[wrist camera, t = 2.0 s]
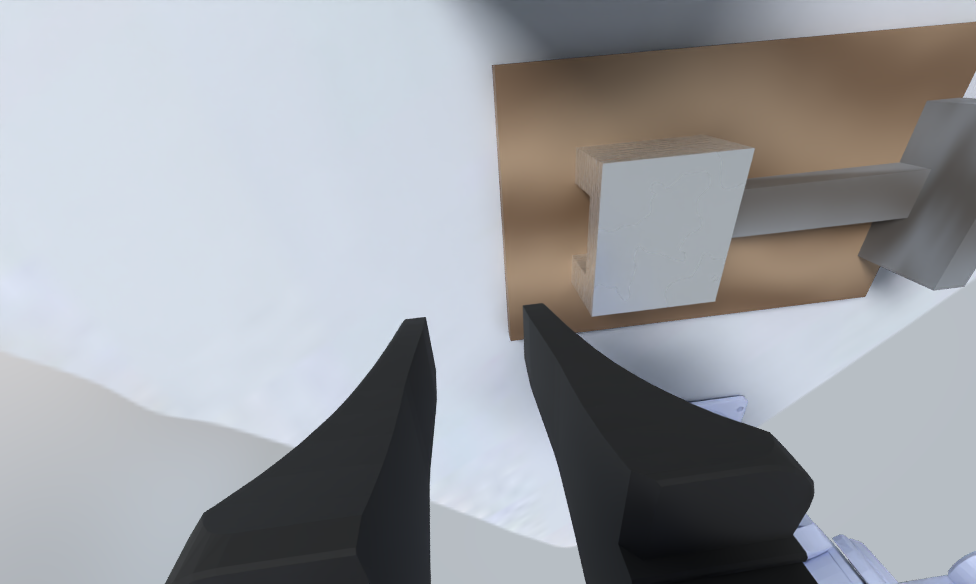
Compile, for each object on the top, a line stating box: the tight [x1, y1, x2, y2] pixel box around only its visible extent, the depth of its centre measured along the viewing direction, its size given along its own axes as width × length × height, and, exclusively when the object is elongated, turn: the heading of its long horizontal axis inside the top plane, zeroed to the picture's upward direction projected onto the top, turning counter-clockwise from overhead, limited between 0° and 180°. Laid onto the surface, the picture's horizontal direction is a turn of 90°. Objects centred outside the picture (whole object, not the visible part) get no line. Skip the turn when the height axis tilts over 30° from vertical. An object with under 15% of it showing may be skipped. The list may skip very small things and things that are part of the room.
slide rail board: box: [492, 22, 976, 341], centre depth 18 cm, size 14×22×5 cm, turn 94°
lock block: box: [571, 135, 755, 317], centre depth 18 cm, size 7×6×3 cm
